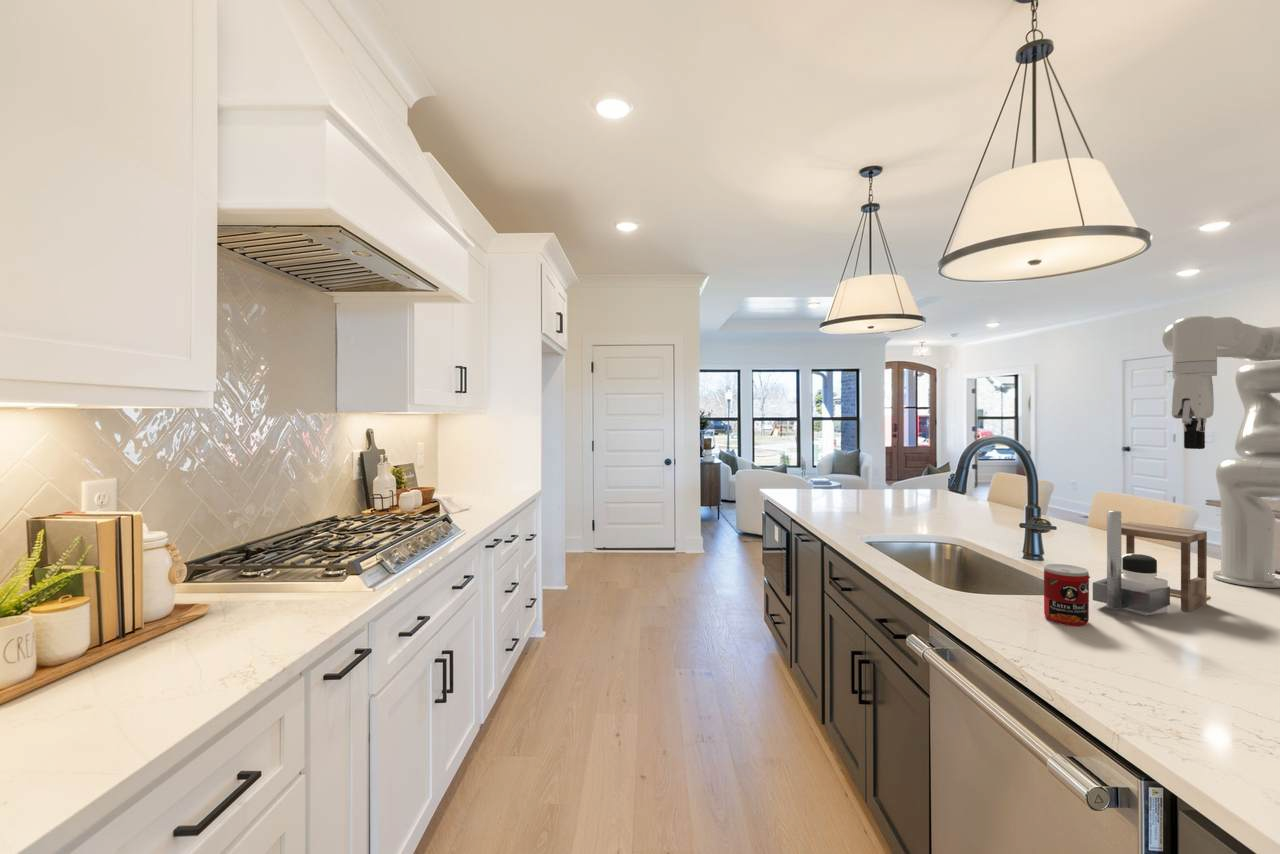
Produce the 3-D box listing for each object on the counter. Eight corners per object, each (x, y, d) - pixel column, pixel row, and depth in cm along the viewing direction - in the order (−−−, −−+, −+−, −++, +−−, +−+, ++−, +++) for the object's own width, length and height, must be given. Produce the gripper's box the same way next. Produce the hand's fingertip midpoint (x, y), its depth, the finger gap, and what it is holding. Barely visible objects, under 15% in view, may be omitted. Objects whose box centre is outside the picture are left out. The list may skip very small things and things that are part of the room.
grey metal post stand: (1113, 592, 135) (1113, 503, 134) (1169, 604, 126) (1170, 509, 126) (1083, 603, 128) (1083, 508, 127) (1141, 616, 119) (1141, 515, 119)
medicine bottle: (1168, 612, 126) (1168, 557, 125) (1145, 616, 124) (1145, 560, 123) (1132, 602, 132) (1132, 550, 132) (1109, 605, 130) (1109, 553, 130)
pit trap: (1146, 585, 146) (1146, 583, 146) (1210, 597, 135) (1210, 595, 135) (1135, 588, 143) (1135, 586, 143) (1200, 601, 132) (1200, 599, 132)
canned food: (1047, 623, 120) (1046, 570, 120) (1041, 611, 127) (1041, 562, 127) (1093, 629, 116) (1093, 575, 116) (1084, 617, 123) (1084, 565, 123)
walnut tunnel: (1128, 588, 143) (1128, 522, 143) (1206, 603, 131) (1206, 531, 131) (1108, 594, 138) (1108, 526, 138) (1188, 612, 126) (1188, 536, 125)
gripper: (1186, 372, 142) (1185, 447, 142) (1160, 370, 134) (1160, 449, 135) (1228, 370, 135) (1228, 448, 135) (1203, 367, 128) (1203, 450, 128)
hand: (1194, 448), depth 135 cm, fingers closed
